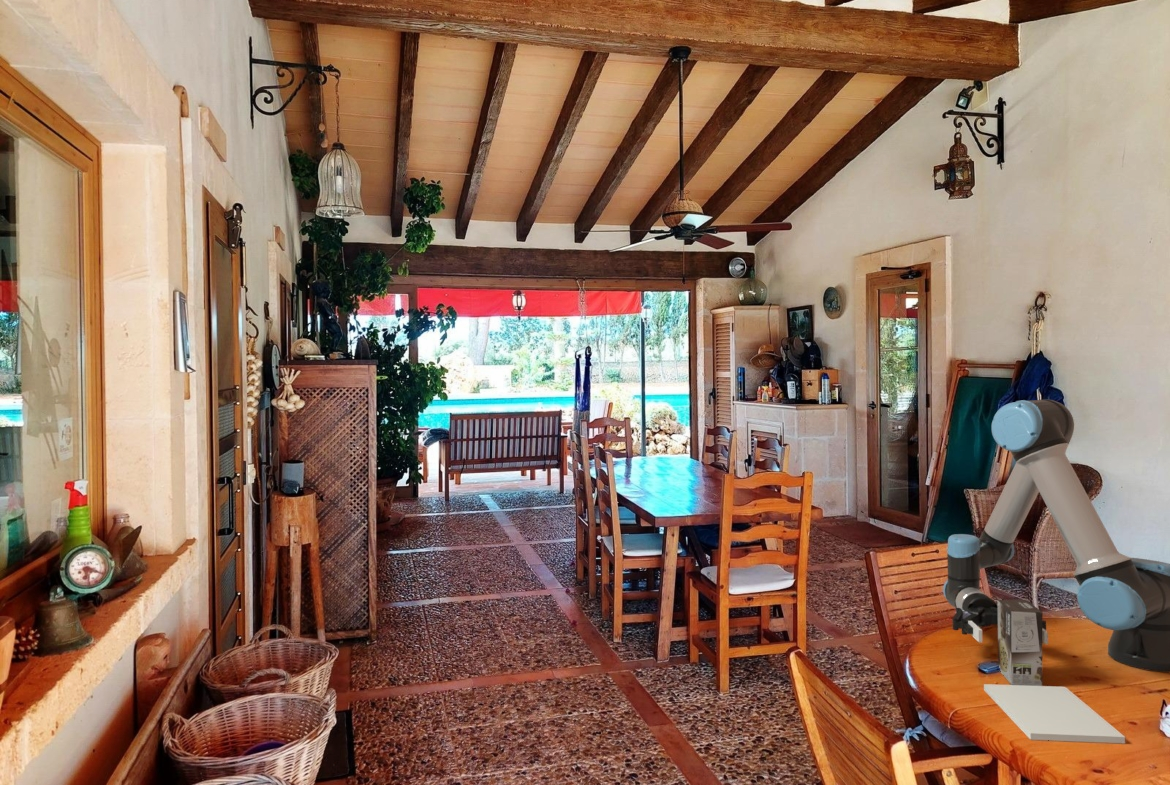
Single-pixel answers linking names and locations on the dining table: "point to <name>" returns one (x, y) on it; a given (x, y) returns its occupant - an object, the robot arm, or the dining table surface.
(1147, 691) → the dining table surface
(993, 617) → the robot arm
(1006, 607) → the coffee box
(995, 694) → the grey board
